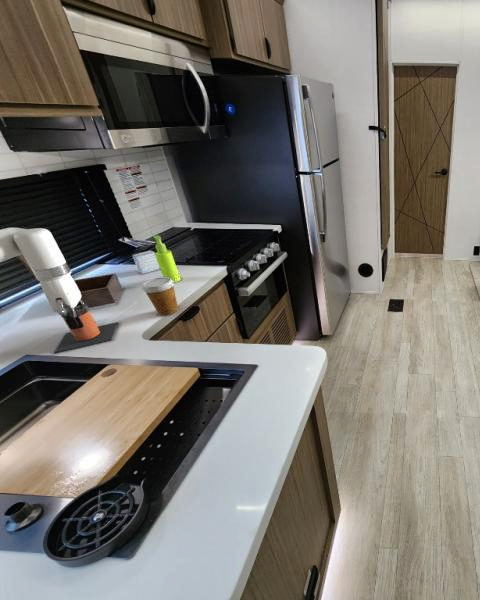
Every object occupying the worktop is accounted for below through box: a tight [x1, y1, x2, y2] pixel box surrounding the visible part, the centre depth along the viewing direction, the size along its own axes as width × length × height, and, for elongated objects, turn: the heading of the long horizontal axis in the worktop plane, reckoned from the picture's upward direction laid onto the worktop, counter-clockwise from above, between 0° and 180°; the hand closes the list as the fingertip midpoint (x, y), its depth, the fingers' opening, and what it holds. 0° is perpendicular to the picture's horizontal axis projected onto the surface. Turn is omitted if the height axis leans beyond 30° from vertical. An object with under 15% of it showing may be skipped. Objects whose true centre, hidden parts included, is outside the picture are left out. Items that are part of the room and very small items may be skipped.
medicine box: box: [131, 250, 161, 275], centre depth 155 cm, size 8×4×9 cm, turn 144°
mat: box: [54, 321, 119, 354], centre depth 108 cm, size 14×12×1 cm
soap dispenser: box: [152, 235, 182, 283], centre depth 143 cm, size 6×7×20 cm
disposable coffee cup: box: [141, 276, 179, 316], centre depth 120 cm, size 10×10×12 cm
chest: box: [65, 272, 123, 309], centre depth 129 cm, size 16×16×7 cm
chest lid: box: [16, 254, 41, 285], centre depth 119 cm, size 16×16×1 cm
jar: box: [60, 304, 100, 341], centre depth 106 cm, size 7×7×10 cm
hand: (80, 322), depth 106 cm, fingers closed on jar, 6 cm apart
